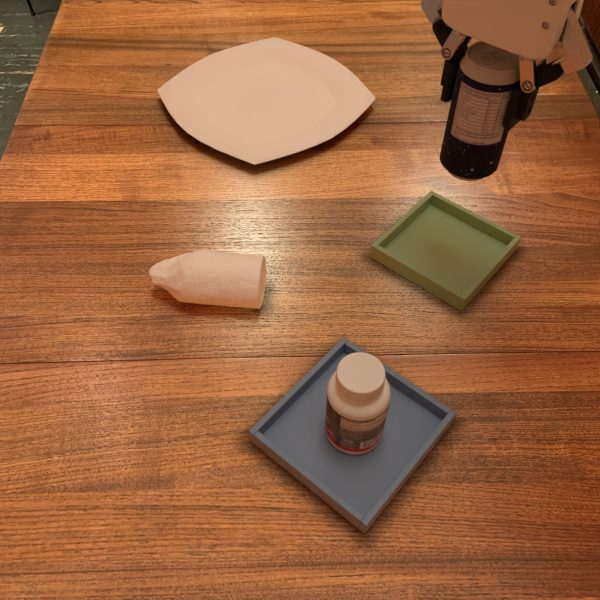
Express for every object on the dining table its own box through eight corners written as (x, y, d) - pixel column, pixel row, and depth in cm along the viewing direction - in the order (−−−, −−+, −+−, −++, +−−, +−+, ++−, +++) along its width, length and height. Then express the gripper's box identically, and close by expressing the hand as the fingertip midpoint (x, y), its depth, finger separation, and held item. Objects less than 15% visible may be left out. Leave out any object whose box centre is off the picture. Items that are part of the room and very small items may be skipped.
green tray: (517, 248, 76) (521, 237, 74) (461, 311, 70) (464, 300, 68) (428, 201, 81) (431, 190, 79) (369, 256, 75) (371, 245, 73)
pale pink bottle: (161, 269, 73) (153, 233, 69) (267, 277, 73) (265, 242, 68) (148, 311, 70) (138, 276, 65) (259, 320, 69) (257, 285, 65)
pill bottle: (324, 403, 62) (327, 343, 55) (380, 404, 62) (392, 344, 55) (324, 456, 59) (328, 400, 51) (384, 457, 59) (397, 401, 51)
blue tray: (453, 422, 61) (456, 412, 60) (364, 534, 55) (366, 526, 53) (342, 347, 67) (343, 336, 65) (249, 440, 60) (248, 430, 59)
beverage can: (508, 174, 64) (544, 61, 55) (462, 193, 62) (491, 80, 53) (470, 143, 67) (498, 31, 58) (426, 160, 65) (447, 48, 56)
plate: (134, 100, 94) (131, 88, 93) (277, 36, 106) (277, 24, 104) (251, 194, 81) (251, 182, 80) (400, 110, 93) (401, 98, 91)
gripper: (682, -100, 44) (589, 127, 58) (461, -156, 51) (425, 58, 65) (637, -64, 40) (549, 169, 54) (405, -130, 47) (380, 91, 61)
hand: (482, 107), depth 59 cm, fingers closed on beverage can, 5 cm apart
